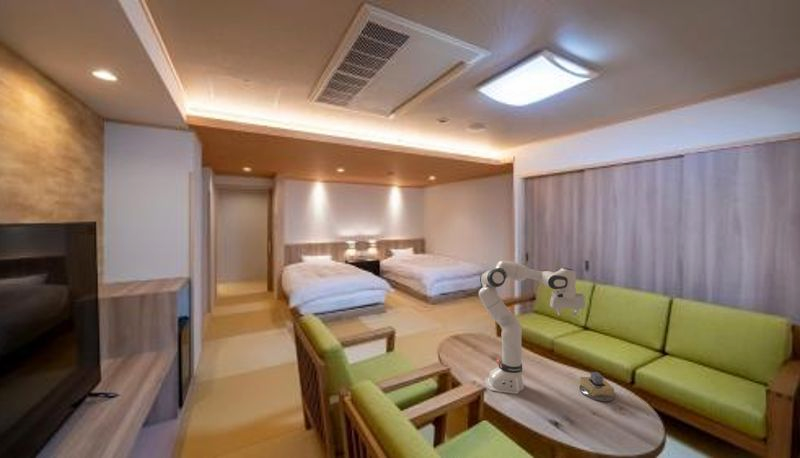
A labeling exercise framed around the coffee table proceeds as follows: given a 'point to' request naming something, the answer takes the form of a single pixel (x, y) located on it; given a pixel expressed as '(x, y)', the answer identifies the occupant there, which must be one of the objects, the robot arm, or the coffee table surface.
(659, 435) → the coffee table surface
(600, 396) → the rosette plate
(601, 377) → the grey rectangular block
